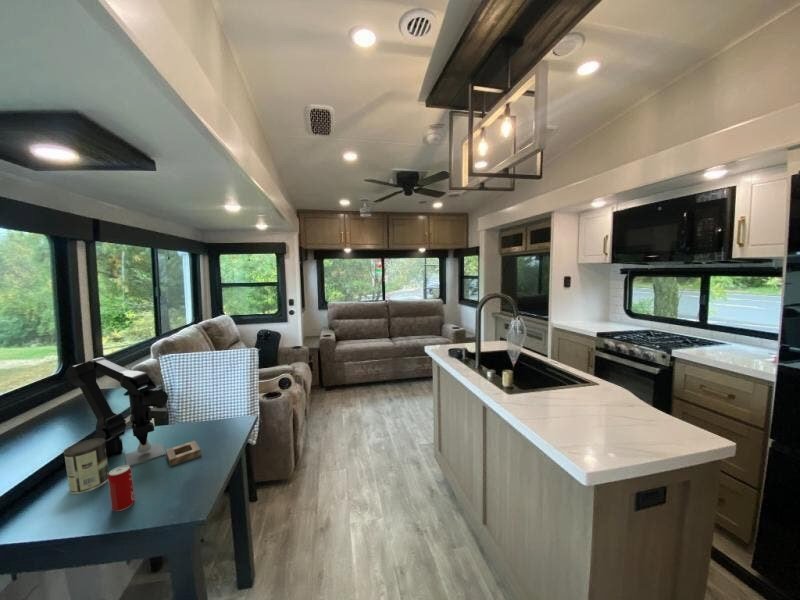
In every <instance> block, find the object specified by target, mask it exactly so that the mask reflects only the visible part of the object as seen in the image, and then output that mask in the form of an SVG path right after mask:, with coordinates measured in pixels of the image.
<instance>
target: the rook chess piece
mask: <svg viewBox="0 0 800 600" xmlns="http://www.w3.org/2000/svg"><path fill="white" fill-rule="evenodd" d="M138 442H139V441H138ZM150 446H152V444H151V443H150V442H149V440H148V439H147V441H146V445H142V444H141V443H140V442H139V444H138V447H137V448H136V449H137V450H138V451H137V450H136V451H137V452H138V453H145V452H147V451H149V450H150V449H151V447H150Z"/></svg>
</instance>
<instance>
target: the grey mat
mask: <svg viewBox="0 0 800 600" xmlns="http://www.w3.org/2000/svg"><path fill="white" fill-rule="evenodd" d="M150 447H151V449H150V450H149V451H147V452H145V453H138V452H137V451H138V450H134V451H130V452H128V453H125V454H124V458H125V465H129V466H130V468H132V467H134V466H137V465H141V464H143V463H147V462H149V461H152V460H156V459H158V458H161V457H165V456H166V449H165V448H164V446H163V443H162V442H159V443H156V444H154V445H151V446H150Z"/></svg>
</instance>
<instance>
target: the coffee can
mask: <svg viewBox="0 0 800 600" xmlns="http://www.w3.org/2000/svg"><path fill="white" fill-rule="evenodd" d="M62 453H63V455H64V461H65V462H64V463H65V469H66V476H67V482H68V489H69V490H68V492H69V493H70V494H71V495H81V494H84V493H88V492H90V491H93V490H96V489H98V488H100V487H101V486H104V485H105V484H106V483H107V482H108V476H109V472H110V471H109V465H108V458H107V456H106V448H105V439H103V438H95V439H93V438H90V439H86V440H82V441H79V442H77V443H74V444H72V445H70V446H68V447H67V448H65V449H64V450H63V452H62Z"/></svg>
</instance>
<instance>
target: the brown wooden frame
mask: <svg viewBox="0 0 800 600" xmlns="http://www.w3.org/2000/svg"><path fill="white" fill-rule="evenodd" d="M165 453H166V455H165V456H166V459H167V461H168V464H169V466H170V467H172V466H175V465H178V464H181V463H184V462H186V461H190V460H193V459H196V458H198V457H200V456H202V452H201V448H200V447H199V444H198V443H197V442H196V440H191V441H189V442H186V443H183V444H180V445H176V446H174V447H171V448H168V449H167V448H166V449H165Z"/></svg>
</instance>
